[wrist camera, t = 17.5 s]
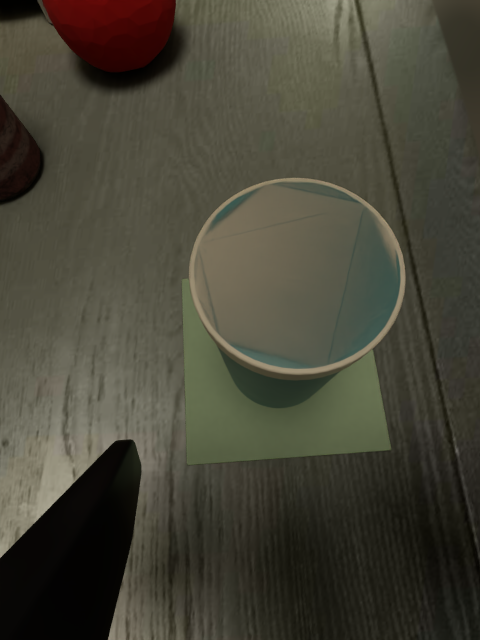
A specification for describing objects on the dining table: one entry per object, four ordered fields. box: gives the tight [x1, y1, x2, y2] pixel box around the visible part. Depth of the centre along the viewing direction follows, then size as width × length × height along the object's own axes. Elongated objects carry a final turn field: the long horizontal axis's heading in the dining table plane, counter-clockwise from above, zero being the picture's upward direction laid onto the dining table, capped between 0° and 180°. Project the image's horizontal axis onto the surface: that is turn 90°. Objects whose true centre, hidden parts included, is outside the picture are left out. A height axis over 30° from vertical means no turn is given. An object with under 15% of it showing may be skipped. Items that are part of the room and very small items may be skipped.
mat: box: [182, 279, 391, 465], centre depth 22 cm, size 11×11×1 cm
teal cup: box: [189, 178, 406, 408], centre depth 16 cm, size 6×6×12 cm
